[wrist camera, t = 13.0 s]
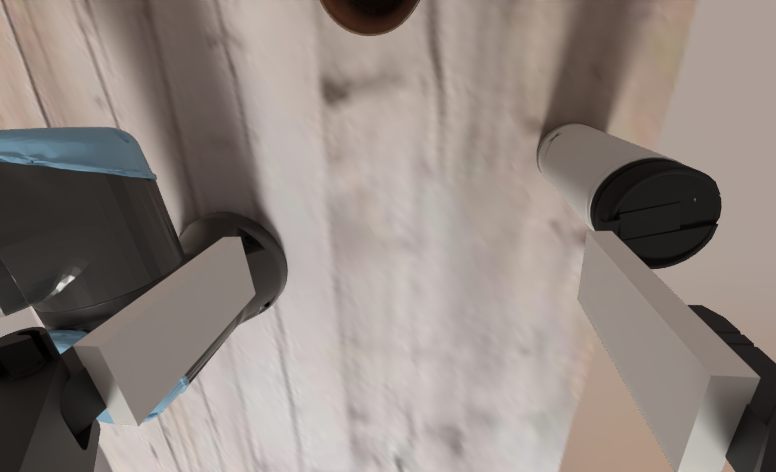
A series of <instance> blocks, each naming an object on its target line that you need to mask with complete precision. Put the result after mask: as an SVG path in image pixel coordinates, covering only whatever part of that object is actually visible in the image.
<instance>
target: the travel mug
mask: <svg viewBox="0 0 776 472" xmlns="http://www.w3.org/2000/svg"><path fill="white" fill-rule="evenodd" d="M537 164H538V167H539V170H540V171H541V173H542V174H543V175H544V176H545V178H546V179H547V180H548V181H549V182H550V183H551V184H552V185H553V187H554V188H555V189H556V190H557V191H558V192H559V193H560V194H561V196H562V197H563V198H564V199H565V200H566V201H567V202H568V203H569V204H570V206H571V207H572V208H573V209H574V210H575V211H576V212H577V213H578V215H579V216H580V217H581V218H582V219H583V220H584V221H585V222H586V224H587V225H588V226H589V227H590V228H591V229H592V230H593V231H612V232H613V233H614V234H615V235H616V236H617V237H618V238H619V239H620V240H621V241H622V242H623V243H624V244H625V245H626V246H627V247H628V248H629V249H630V250H631V251H632V252H633V253H634V254H635V255H636V256H637V257H638V258H640V259H641V260H642V261H643V262H644V263H645V264H646V265H647V266H648V267H649V268H650V269H660V268H666V267H670V266H673V265H676V264H678V263H681V262H683V261H685V260H687V259H689V258H690V257H692V256H693V255H695V254H696V253H697V252H699V251H700V250H701V249H702V248H703V247H705V245H706V244H707V243H708V242H709V241H710V240H711V239H712V237H713V235H714V233H715V230H716V228H717V226H718V224H716V222H717V221H718V219H719V218H720V213H721V197H720V196H719V195H720V192H719V189H718V187H717V184H716V182H715V181H714V180H713V179H712V178H711V177H710V176H708V175H707V174H705V173H703V172H701V171H698V170H696V169H693V168H691V167H688V166H686V165H684V164H682V163H680V162H678V161H676V160H673V159H671V158H668V157H666V156H663V155H661V154H658V153H656V152H653V151H651V150H648V149H645V148H643V147H640V146H638V145H635V144H633V143H630V142H628V141H625V140H622V139H620V138H617V137H615V136H612V135H610V134H607V133H605V132H602V131H599V130H597V129H594V128H592V127H589V126H587V125H584V124H580V123H569V124H564V125H561V126H559V127H557V128H555V129H553V130H552V131H550V132H549V133H548V134H547V135H546V136H545V137H544V138H543V140H542V142H541V143H540V145H539V148H538V151H537Z"/></svg>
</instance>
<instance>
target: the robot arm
mask: <svg viewBox="0 0 776 472" xmlns="http://www.w3.org/2000/svg"><path fill="white" fill-rule="evenodd" d="M156 180H157V178H156V175H155V174H153V173H152V171H151V169H150V167H149V165H148V163H147V160H146V158H145V156H144V154H143V152H142V150H141V148H140V145H139V144H138V142H137V141H136V139H135V138H134V137H133V136H132V135H130V134H129V133H127V132H125V131H123V130H121V129H117V128H112V127H62V128H33V129H10V130H0V318H1V317H5V316H7V315H10V314H12V313H15V312H17V311H20V310H22V309H25V308H27V307H29V306H32V307H33V308H34V310H35V311H36V313H37V315H38V316H39V318H40V320H41V321H42V323H43V324H44V326H45V328H46V329H45V328H43V327H31V328H26V329H22V330H19V331H16V332H13V333H10V334H7V335H5V336H3V337H1V338H0V472H94V466H95V460H96V454H97V448H98V442H99V436H100V424H99V423H98V421H101V422H105V423H110V424H117V425H128V426H139V425H140V424H141V423H143V422H146V421H149V420H151V419H153V418H155V417H156V416H158V415H159V414H161V413H162V412H163V411H164V410H165V409H166V408H167V407H168V406H169V405H170V404H171V402H172V401H173V400H174V399H175V398H176V397H177V396H178V395H179V394H181V393H183V392H184V391H185V390H186V388H187V387H188V385H189V384H190V383H191V382H192V381H193V379H194V378H195V377H196V376H197V374H198V373H199V372H200V371H201V370H202V368H203V367H204V366H205V365H206V363H207V362H208V361H209V360H210V359H211V357H212V356H213V355H214V354H215V352H216V351H217V350H218V349H219V348H220V346H221V345H222V344H223V343H224V342H225V340H226V339H227V338H228V337H229V335H230V334H231V333H232V332H233V330H234V329H235V328H236V327H237V326H238V325H240V324H242V323H244V322H245V321H247V320H249V319H251V318H253V317H255V316H257V315H258V314H260V313H262V312H264V311H266V310H267V309H268V308H269V307H270V306H272V305H273V303H274V302H275V301H276V300H277V298H278V297H279V296H280V294H281V293H282V291H283V290H284V287H285V285H286V281H287V266H286V261H285V258H284V255H283V253H282V251H281V249H280V247H279V245H278V244H277V242H276V241H275V239H274V238H273V237H272V236H271V235H270V234H269V233H268V232H267V231H266V230H265V229H264V228H263V227H261V226H260V225H259V224H257V223H256V222H254V221H252V220H250V219H248V218H246V217H244V216H241V215H238V214H234V213H227V212H217V213H212V214H208V215H206V216H203V217H202V218H200V219H198V220H196V221H195V222H193V223H191V224H190V225H189V226H187V227H186V228H185V229H184V230H183V231H182V233H181V234H180V236H179V237H178V236H177V234H176V231H175V229H174V226H173V224H172V221H171V219H170V216H169V214H168V211H167V209H166V206H165V204H164V201H163V199H162V196H161V193H160V191H159V188H158V185H157V183H156ZM578 301H579V302H580V304H581V306H582V308H583V310H584V311H585V313H586V315H587V317H588V319H589V320H590V322H591V324H592V326H593V327H594V329H595V331H596V333H597V335H598V336H599V338H600V340H601V342H602V344H603V345H604V347H605V349H606V351H607V352H608V354H609V356H610V358H611V360H612V361H613V363H614V365H615V367H616V369H617V370H618V372H619V374H620V376H621V377H622V379H623V381H624V383H625V384H626V386H627V388H628V390H629V392H630V393H631V395H632V397H633V399H634V401H635V402H636V404H637V406H638V408H639V410H640V411H641V413H642V415H643V417H644V418H645V420H646V422H647V424H648V426H649V428H650V429H651V431H652V433H653V434H654V436H655V438H656V440H657V442H658V444H659V445H660V447H661V449H662V451H663V453H664V454H665V456H666V458H667V460H668V461H669V463H670V465H671V467H672V469H673V470H674V472H721V471H722V469H723V466H724V464H725V462H726V459H727V460H728V461H729V463H730V464H731V466H732V467H733V469H734V470H735V472H776V363H775V362H773V361H772V360H771V359H770V358H769V357H768V356H767V355H766V354H765V353H764V352H762V351H761V350H760V349H759V348H758V347H754V343H752V342H751V341H750V340H749V339H748V338H747V337H746V336H745V335H741V334H740V331H739V330H738V329H737V328H735V327H734V326H733V325H732V324H731V323H730V322H729V321H728V320H727V319H726V318H724V317H723V316H721V315H719V314H717V313H715V312H713V311H711V310H710V309H708V308H706V307H704V306H702V305H686V304H685V303H684V302H683V301H682V300H681V299H680V298H679V297H678V296H677V295H676V294H675V293H674V292H673V291H672V290H671V289H670V288H669V287H668V286H667V285H666V284H665V283H664V282H663V281H662V280H661V279H660V278H659V277H658V276H657V275H656V274H655V273H654V272H653V271H652V270H651V269H650V268H649V267H648V266H647V265H646V264H645V263H644V262H643V261H642V260H641V259H640V258H638V257H637V256H636V255H635V254H634V253H633V252H632V251H631V250H630V249H629V248H628V247H627V246H626V245H625V244H624V243H623V242H622V241H621V240H620V239H619V238H618V237H617V236H616V235H615V234H614V233H613V232H612V231H587V236H586V243H585V250H584V257H583V264H582V271H581V278H580V285H579V292H578Z"/></svg>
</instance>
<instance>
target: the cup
mask: <svg viewBox="0 0 776 472" xmlns="http://www.w3.org/2000/svg"><path fill="white" fill-rule="evenodd" d="M419 1H420V0H320V2H321V4H322V6H323V8H324V9H325V11H326V12H327V13H328V15H329V16H330V17H331V18H332V19H333V20H334V21H335V22H336V23H337V24H338V25H339V26H341V27H342V28H344V29H345V30H347V31H349V32H351V33H354V34H358V35H362V36H376V35H381V34H385V33H388V32H390V31H392V30H394V29H396V28H397V27H399V26H400V25H401V24H403V23H404V22H405V21H406V20H407V19H408V18H409V16H410V15H411V14H412V13H413V11H414V10H415V8H416V7H417V5H418V3H419Z"/></svg>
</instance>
